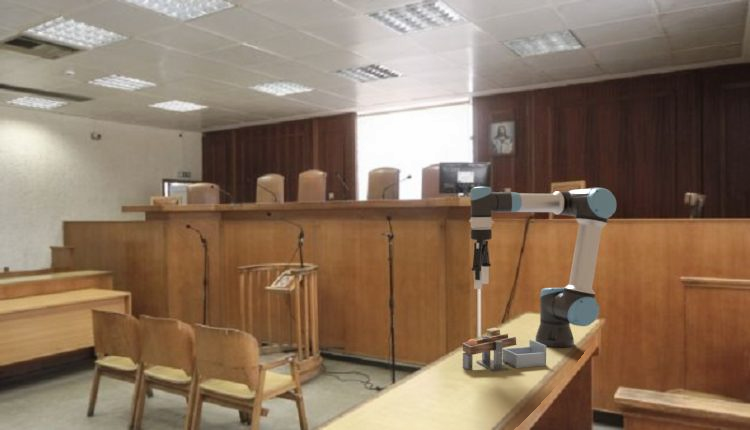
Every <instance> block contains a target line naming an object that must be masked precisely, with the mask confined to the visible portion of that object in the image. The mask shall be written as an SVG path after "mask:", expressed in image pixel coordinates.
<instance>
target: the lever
mask: <svg viewBox="0 0 750 430" xmlns="http://www.w3.org/2000/svg"><path fill="white" fill-rule="evenodd" d="M485 330H486V336H490V337H489V338H484V339H482V338H480V339H475V340H476V341H477V345H475V346H470V345H468V344H467V343H468V341H465V342H462V343H461V344H462V345H461V347H462V351H463V353H467V354H469V355H472V356H473V355H474V356H475V355H478V354H482V353H483V352H487V351H490V352H493V351H492V350H494V341H502V349H505V348H509V347H513V346H517V337H516V336H512V337H509V334H508V333H504V334H501V330H500V329H499V328H497V327H491V328H486V329H485Z"/></svg>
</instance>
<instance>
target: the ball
mask: <svg viewBox="0 0 750 430" xmlns="http://www.w3.org/2000/svg"><path fill="white" fill-rule="evenodd" d="M476 340H477V339H474V338H471V339H468V341H467V342H468V343H467V344H468V345H470V346H475V345H477V341H476Z"/></svg>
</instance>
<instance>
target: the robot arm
mask: <svg viewBox="0 0 750 430" xmlns="http://www.w3.org/2000/svg"><path fill="white" fill-rule="evenodd" d="M469 196H470V198H469V200H470V201H469V202H470V219H469V220H468V221H469V223H470V228H471V230H470V239H471V240H475V241H476V242H474V243H473V246H474V249H473V259H472V260H473V261H472V267H471V271H472V272H473V289H474V290H483V285H489V284H490V281H489V279H490V273H489V272H490V271H489V269H490V268H489V267H491V265H492V263H491V262H490V254H489V241H488V240H492V231H493V230H492V229H491V228H492V224H493V223H492V222H493V221H492V220H493V218H492V213H510V214H511V213H553V214H554V215H555V216H557V215H558V216H559V215H561V216H570V217H575V221H576V223H578V227H577V234H576V239H575V245H574V252H573V257H572V263H571V268H570V275H569V279H568V280H569V281H568V282H569V283H568V284H567V285H566V286H564V287H544V288H542V289H541V290H540V295H539V298H540V302H539V303H540V308H539V309H540V310H539V312H540V314H539V315H540V316H539V318H540V319H539V326H538V329H537V332H536V334H535V341H536V342H538V343H541V344H544V345H546V347H551V348H552V347H553V348H570V347H573V346H575V338H574V336H573V332H572V329H571V326H570V325H573V326H577V327H588V326H590V325H591V324H593V323H594V322H595V321H596V320H597V318H598V317H599V313H600V305H599V304H598V302H597V300H596V292H595V291H594V290H593V284H594V279H595V271H596V266H597V260H598V254H599V247H600V242H601V236H602V230H603V228H604V227H605V226H606V225H608V220H609V218H610V217H612V216H613V215H614V214H615V212H616V210H617V200H616V197H615V195H613V193H612V192H611V190H609V189H607V188H604V187H588V188H587V187H586V188H576V189H570V190H564V191H562V190H561V191H560V190H559V191H558V190H557V191H553V193H518V192H513V191H509V192H508V191H501V192H494V191H492V188H491V187H490V186H474V187H472V188H471V189H470V195H469Z"/></svg>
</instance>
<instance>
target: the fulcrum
mask: <svg viewBox="0 0 750 430" xmlns="http://www.w3.org/2000/svg"><path fill="white" fill-rule="evenodd" d="M489 337H490V336H487V335H482V338H481V339H484V338H489ZM491 352H493V359H491ZM473 358H474V356H473V355H469V354H467V353H466V352H462V367H463V368H464V369H466V370H468V371H471V370H473ZM502 359H503V348H502V341H494V350H492V351H487V352H483V353H481V360H476V363H477V364H479V365H481V366H482V367H484V368H486V369H487V370H489V371H491V372H497V371H499V372H500V371H508V370H509V368H508V367H507V366H504V365H503V361H502Z"/></svg>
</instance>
